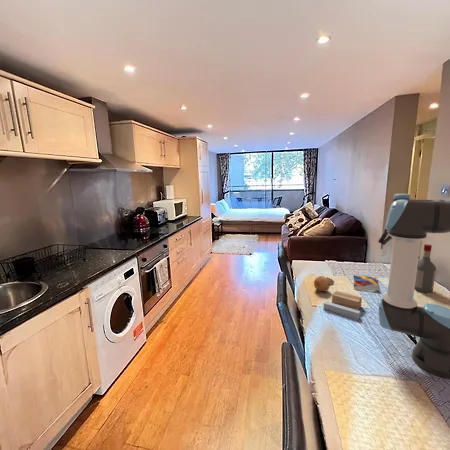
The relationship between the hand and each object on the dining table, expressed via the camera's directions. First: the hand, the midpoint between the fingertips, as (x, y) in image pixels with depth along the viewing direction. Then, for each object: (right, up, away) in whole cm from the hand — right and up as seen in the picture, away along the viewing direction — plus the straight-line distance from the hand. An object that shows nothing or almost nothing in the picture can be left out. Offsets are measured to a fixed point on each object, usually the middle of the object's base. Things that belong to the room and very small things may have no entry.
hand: (395, 258), depth 140 cm
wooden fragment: (-27, -22, +33) cm, 48 cm away
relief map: (0, -23, +30) cm, 38 cm away
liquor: (+30, -23, +19) cm, 43 cm away
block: (-26, -28, +3) cm, 39 cm away
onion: (-33, -24, +22) cm, 47 cm away
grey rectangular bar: (-33, -29, -4) cm, 45 cm away
